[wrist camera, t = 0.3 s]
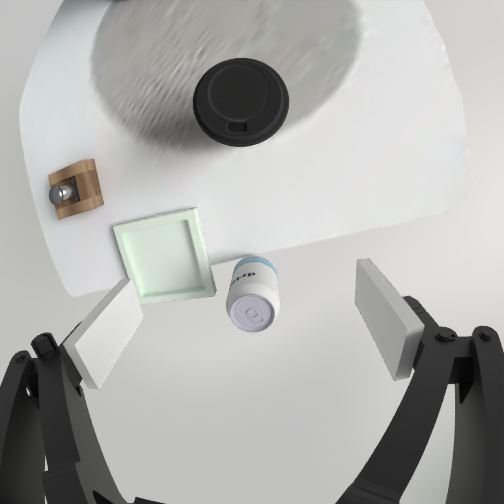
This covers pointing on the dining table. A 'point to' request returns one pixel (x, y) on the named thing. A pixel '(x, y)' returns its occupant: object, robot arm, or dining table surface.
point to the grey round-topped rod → (63, 193)
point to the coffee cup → (240, 102)
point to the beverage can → (253, 294)
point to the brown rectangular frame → (86, 188)
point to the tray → (166, 257)
